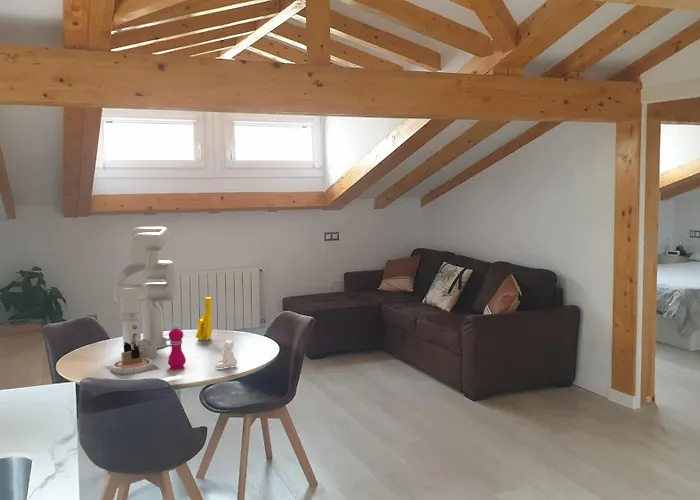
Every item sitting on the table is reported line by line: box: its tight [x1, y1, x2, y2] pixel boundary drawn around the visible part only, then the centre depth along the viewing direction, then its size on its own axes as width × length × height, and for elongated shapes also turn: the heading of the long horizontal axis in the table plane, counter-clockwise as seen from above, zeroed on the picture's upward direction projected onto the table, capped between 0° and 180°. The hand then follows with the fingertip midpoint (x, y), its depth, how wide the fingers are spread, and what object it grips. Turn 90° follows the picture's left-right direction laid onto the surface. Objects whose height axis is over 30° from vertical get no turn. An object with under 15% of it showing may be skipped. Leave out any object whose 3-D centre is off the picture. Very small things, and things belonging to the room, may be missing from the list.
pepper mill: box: [167, 324, 187, 371], centre depth 265 cm, size 7×7×20 cm
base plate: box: [104, 358, 161, 378], centre depth 266 cm, size 18×18×4 cm
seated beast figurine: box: [215, 339, 238, 369], centre depth 272 cm, size 10×9×12 cm
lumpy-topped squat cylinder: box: [133, 338, 158, 360], centre depth 285 cm, size 10×13×9 cm
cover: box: [117, 350, 147, 368], centre depth 265 cm, size 12×12×7 cm
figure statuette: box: [195, 296, 214, 341], centre depth 319 cm, size 18×8×22 cm, turn 176°
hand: (131, 355), depth 265 cm, fingers open, 9 cm apart
